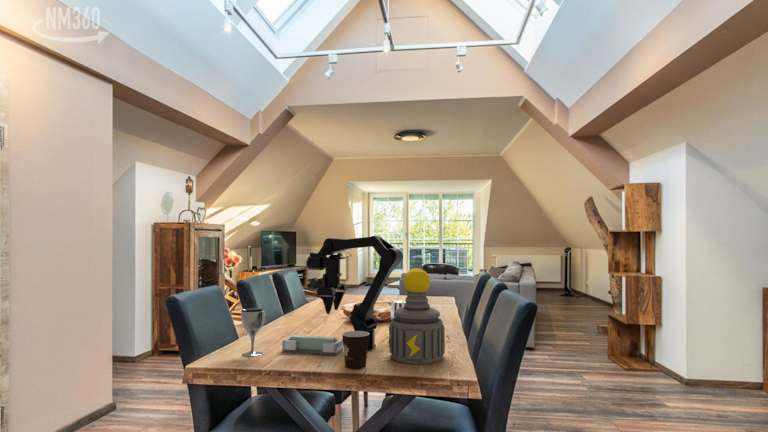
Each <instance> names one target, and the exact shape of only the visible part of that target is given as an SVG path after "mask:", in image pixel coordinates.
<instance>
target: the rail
mask: <svg viewBox="0 0 768 432" xmlns="http://www.w3.org/2000/svg"><path fill="white" fill-rule="evenodd" d="M289 337H290V340H293V341H297V349H311V350H323V343H324V342H327V343H335V341H336V339H337V338H336V336H335V337H334V336H322V335H321V336H320V335H319V336H317V335H305V334H303V335H299V334H293V335H290V336H289Z"/></svg>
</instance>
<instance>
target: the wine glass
mask: <svg viewBox="0 0 768 432" xmlns="http://www.w3.org/2000/svg"><path fill="white" fill-rule="evenodd" d="M265 317H266V309H265V308H259V307H258V308H257V307H255V308H254V307H253V308H252V307H251V308H246V309H244V308H243V309H242V310H241V311H240V321H241V324H242V327H243V329H244V330H245V332H247V333H246V334H248V336H249V338H250V344H251V345H250V346H251V347H250V350H249V351H245V352H242V353H241V357H244V358H245V357H246V358H254V356H255V357H259V355H260V356H261V355H263V354H264V353H263V351H260V350H259V351H258V350H255V349H254V346H255V337H256V335H257V334H258V333H259V332H260V330H261V329H262V328H263V326H264V323H265V319H266V318H265Z"/></svg>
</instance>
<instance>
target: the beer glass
mask: <svg viewBox="0 0 768 432" xmlns="http://www.w3.org/2000/svg"><path fill="white" fill-rule="evenodd" d="M405 303H406V301H405V300H401V299H400V300H398V299H397V300H391V303H390V320H391V319H392V318H394V317H396V316H394V311H395V310H397V309H399V308H401V307H404V304H405Z"/></svg>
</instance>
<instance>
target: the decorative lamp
mask: <svg viewBox="0 0 768 432" xmlns="http://www.w3.org/2000/svg"><path fill="white" fill-rule="evenodd" d="M403 285H404V288H405V290H406V291H407V293H406V296H407V297H405V300H404V301H406V303H405V304H404V307H401V308H399V309H397V310H395V311H394V316H396V317H394V318H392V319H391V318H390V320H391V322H390V324H389V326H388V332H389V333H388V335H389V336H388V346H389V354H391V355H390V356H391V358H392V359H393V360H394V361H397V362H399V363H403V364H409V365H430V364H434V363H437V362H438V363H439V362H440V361H441V360H442V359H443V356H444V355H445V354H446V353H445V352H446V336H445V335H446V328H445V325H444V324H443V323H444V321H443V320H442V319H441V318H439V317H440V316H441V313H440V311H439V310H438V309H436V308H434V307H431V306H430V304H429V299H428V297H427V296H428V294H427V291H428V290H429V289H430V286H431V279H430V276H429V274H428V273H427V271H425V270H424V269H422V268H419V267H417V268H416V267H415V268H412V269H409V270H408V271H407V272H406V273H405V275H404V277H403Z"/></svg>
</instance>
